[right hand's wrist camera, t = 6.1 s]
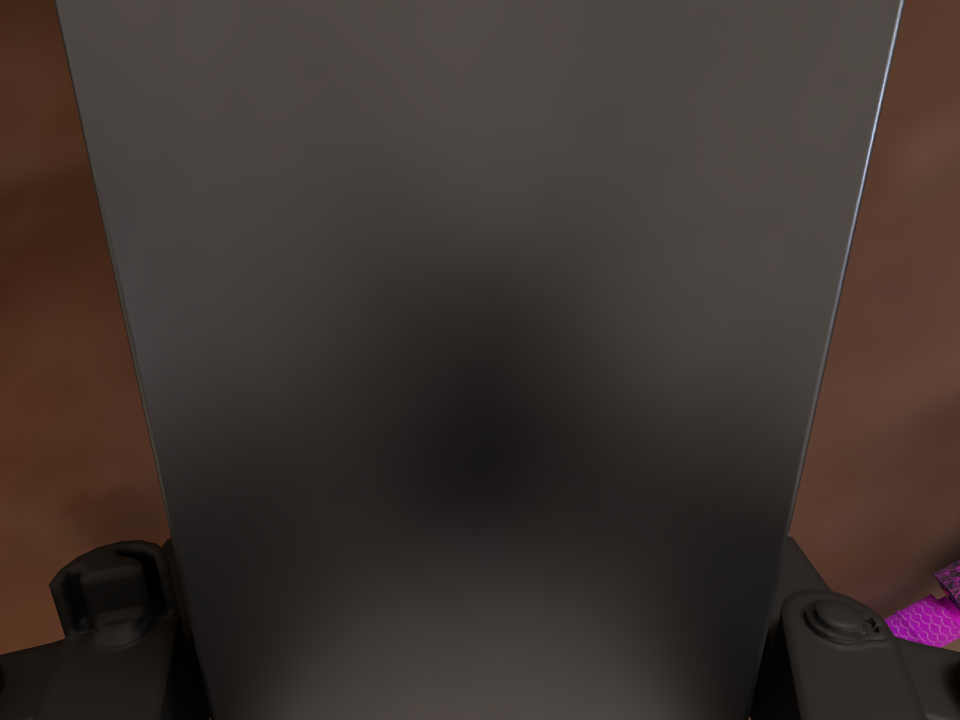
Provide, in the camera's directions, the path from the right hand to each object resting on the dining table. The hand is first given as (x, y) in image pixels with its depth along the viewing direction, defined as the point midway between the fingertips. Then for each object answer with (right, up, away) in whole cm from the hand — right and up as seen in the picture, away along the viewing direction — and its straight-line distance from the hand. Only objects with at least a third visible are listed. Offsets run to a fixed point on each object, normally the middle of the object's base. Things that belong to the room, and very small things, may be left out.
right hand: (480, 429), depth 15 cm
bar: (0, +11, -4) cm, 12 cm away
